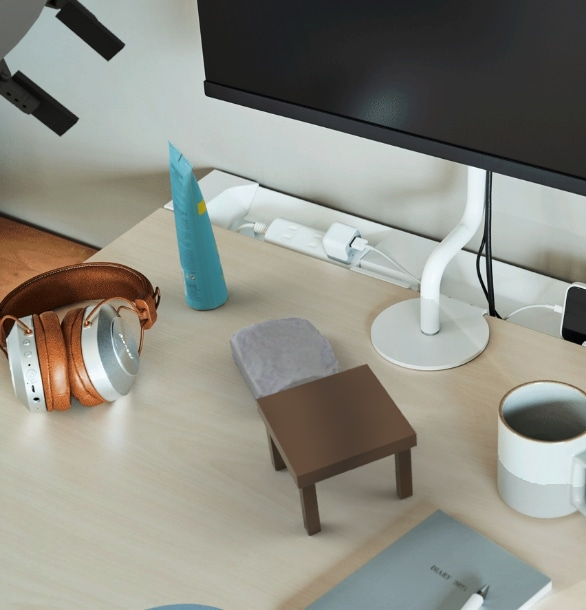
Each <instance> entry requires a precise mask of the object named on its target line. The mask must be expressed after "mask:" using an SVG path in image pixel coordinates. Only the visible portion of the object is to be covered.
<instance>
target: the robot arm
mask: <svg viewBox="0 0 586 610" xmlns="http://www.w3.org/2000/svg"><path fill="white" fill-rule="evenodd" d="M45 7H46V8H50V9H53V10H56V11H57V10H59V11H58V12H57V13H56V14H55V15H54V17H55V18H56V19H57V20H58V21H59V22H60V23H62V24H63V25H64V26H66V28H68V29H69V30H70V31H71V32H72V33H73V34H74V35H76V36H77V37H78V38H80V39H81V41H83V42H84V43H85V44H87V45H88V46H89V47H90V48H91V49H92V50H93V51H95V52H96V53H97V55H99V56H101V58H103V59H104V60H105V61H106V62H110V61H111V60H112V59H113V58H114V57H116V55H118V54H119V53H120V52H121V51H122V50H123V49H124V48H125V47H126V45H127V44H126V43H125V42H123V40H121V39H120V38H119V37H118V36H117V35H116V34H115V33H113V32H112V31H111V30H110V29H108V27H107V26H105V25H104V24H103V23H102V22H101V21H100V20H99V19H98V18H97V16H96V15H95V14H94V13H93V12H92V11H90V10H89V9H88V8H87V7H86V6H85V5H84V4H83V3H81V2H80V1H79V0H0V96H1V97H3V98H4V99H5V100H7V102H9V103H10V104H11V105H13V106H14V107H16V108H17V109H18V110H19V111H20V112H22V113H23V114H25V115H28V116H30V115H31V116H33V117H34V118H35V119H36V120H38V121H39V122H40V123H42V124H43V125H44V126H45V127H46V128H48V129H49V130H50V131H52V132H53V133H55V134H56V135H57V136H58V137H59V138H62V136H64V135H65V134H66V133H67V132H68V131H69V130H71V128H73V127H74V126H76V124H78V122H79V120H80V117H79V116H77V115H76V114H74V113H73V112H72V111H71V110H70V109H69V108H67V107H66V106H65V105H64V104H62V103H61V102H60V101H59V100H57V99H56V98H55V97H53V96H52V95H51V94H50V93H49V92H47V91H46V90H45V89H43V88H42V87H41V86H40V85H38V84H37V83H36V82H35V81H34V80H33V79H31V78H30V77H28V76H27V75H26V74H25V73H23V72H22V71H21V70H20V69H18V70H17V71H15V73H13V74H12V72H11V70H10V68H9V65H8V64H7V61H6V59H5V57H7V55H8V54H9V53H11V51H13V49H15V47H16V46H17V45H18V44H19V43H20V42H21V41H22V40H23V39H24V37H25V36H26V35H27V34H28V32H29V31H30V30H31V28H32V27H33V26H34V25H35V23H36V22H37V21H38V20H39V18H40V16H41V14H42V12H43V10H44V9H45ZM145 610H224V609H223V608H220V607H216V606H211V605H208V604H207V605H206V604H200V603H199V604H197V603H172V604H165V605H159V606H153V607H150V608H146V609H145Z"/></svg>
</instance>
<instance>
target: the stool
mask: <svg viewBox="0 0 586 610" xmlns="http://www.w3.org/2000/svg"><path fill="white" fill-rule="evenodd" d="M255 405H256V410H257V413H258V414H259V416H260V418H261V421H262V422H263V423H264V427H265V430H266V436H267V443H268V449H269V456H270V462H271V465H272V466H273V468H274V470H275V471H279V470H282V469H284V468H287V470H288V472H289V474H290V475H291V478H292V480H293V481H294V484H295V486H296V488H297V489H298V493H299V500H300V508H301V513H302V521H303V527H304V530H305V531H306V533H307V535H308V537H310V536H312V535H315V534H318V533H320V532H322V526H321V518H320V510H319V503H318V495H317V487H316V486H317V485H316V484H318V483H320V482H322V481H325V480H328V479H331V478H333V477H336V476H338V475H342V474H344V473H348V472H349V471H350V472H351V471H353V470H355V469H358V468H361V467H364V466H366V465H369V464H372V463H374V462H377V461H380V460H382V459H385V458H389V457H391V456H394V472H395V485H396V486H395V488H396V493H397V495H398V496H399V498H400V499H401V500H404V499H407V498H410V497H412V496H413V495H414V493H413V492H414V488H413V487H414V486H413V466H412V463H413V461H412V448H415V447H417V446H418V437H417V436H418V434H417V432H416V431H415V429H414V427H413V426H412V425H411V423H410V422H409V421H408V419H407V418H406V416H405V415H404V414H403V413H402V411H401V410H400V408H399V406H398V405H397V404H396V403H395V400H393V398H392V396H391V395H390V393H388V391H387V389H386V388H385V386H384V385H383V384H382V383H381V381H380V380H379V378H378V377H377V376H376V374H375V373H374V371H373V370H372V368H371V367H370V366H369V364H368V363H365V364H364V363H363V364H361V365H358V366H355V367H352V368H349V369H346V370H342V371H339V373H336V374H333V375H330V376H327V377H324V378H321V379H317V380H314V381H311V382H308V383H305V384H302V385H299V386H296V387H292V388H289V389H286V390H283V391H280V392H277V393H274V394H271V395H268V396H264V397H261V398H258V399H255Z"/></svg>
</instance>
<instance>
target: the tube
mask: <svg viewBox="0 0 586 610" xmlns="http://www.w3.org/2000/svg"><path fill="white" fill-rule="evenodd" d="M168 162H169V163H168V164H169V165H168V166H169V177H170V178H169V179H170V189H171V198H172V207H173V215H174V217H173V218H174V225H175V233H176V240H177V247H178V255H179V262H180V270H181V276H182V284H183V289H184V290H183V291H184V297H185V301H186V304H187V306H188V307H189V308H192V309H193V310H197V311H206V310H208V311H209V310H214V309H217V308H218V307H220V306H222V305H223V304H225V303H226V302H227V300H228V297H229V293H228V288H227V284H226V280H225V275H224V269H223V267H222V262H221V257H220V254H219V249H218V245H217V241H216V237H215V234H214V231H213V226H212V223H211V219H210V215H209V212H208V208H207V204H206V202H205V199H204V196H203V193H202V190H201V188H200V185H199V183H198V181H197V178H196V175H195V173H194V172H193V169H194V165H193V164H192V163H191V161H190V160H189V159H188V158H187V157H186V156H185V155H184V154H183V153H182V151H180V150H179V148H178V147H176V146H175V145H174V144H173V143H172V142H171V141H170V140H168Z"/></svg>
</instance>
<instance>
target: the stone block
mask: <svg viewBox="0 0 586 610" xmlns="http://www.w3.org/2000/svg"><path fill="white" fill-rule="evenodd" d="M229 345H230V349H231V357H232V359H233V361H234V362H235V365H236V366H237V368H238V370H239V372H240V374H241V376H242V377H243V379H244V382H245V383H246V385H247V386H248V389H249V390H250V392H251V394H252V395H253V397H254V399H255V400H256V399H258V398H261V397H264V396H268V395H271V394H274V393H277V392H280V391H283V390H286V389H289V388H292V387H296V386H299V385H302V384H305V383H308V382H311V381H314V380H317V379H321V378H324V377H327V376H330V375H333V374H336V373H339V372H340V369H339V367H340V365H339V364H340V363H339V361H338V359H337V358H335V352H334V349H333V347H332V345H331V344H330V341H329V340H328V339H327V338H326V336H324V335H323V334H322V333H321V332H320V330H319V329H318V328H317V327H316V326H315V325H314V324H313V323H312V322H311V321H310V320H309V319H307V318H302V317H296V316H292V317H287V318H286V317H285V318H284V317H283V318H278V319H277V318H275V319H274V318H273V319H272V318H271V319H269V320H267V321H263V322H256V323H253V324H249V325H247V326H245V327H242V328H240V329H238V330H237V331H235V333H234V334H231V337H230V338H229Z"/></svg>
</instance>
